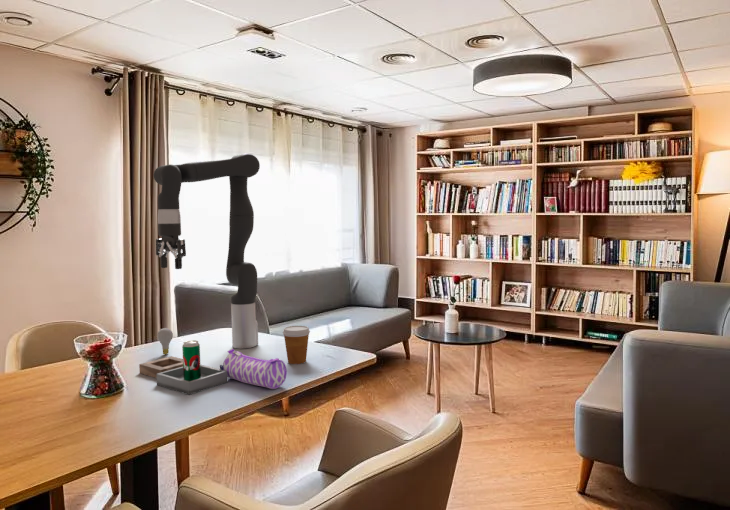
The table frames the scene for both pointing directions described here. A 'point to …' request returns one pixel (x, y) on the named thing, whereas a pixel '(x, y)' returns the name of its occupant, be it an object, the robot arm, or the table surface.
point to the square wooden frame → (160, 366)
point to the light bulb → (165, 339)
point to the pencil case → (254, 370)
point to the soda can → (191, 360)
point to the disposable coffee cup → (296, 343)
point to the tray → (208, 380)
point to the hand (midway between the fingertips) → (171, 268)
